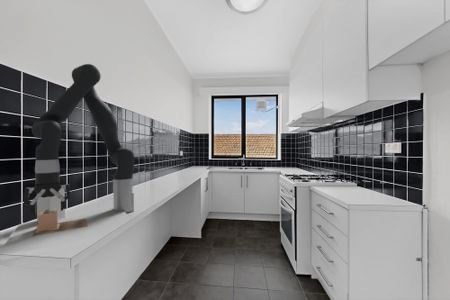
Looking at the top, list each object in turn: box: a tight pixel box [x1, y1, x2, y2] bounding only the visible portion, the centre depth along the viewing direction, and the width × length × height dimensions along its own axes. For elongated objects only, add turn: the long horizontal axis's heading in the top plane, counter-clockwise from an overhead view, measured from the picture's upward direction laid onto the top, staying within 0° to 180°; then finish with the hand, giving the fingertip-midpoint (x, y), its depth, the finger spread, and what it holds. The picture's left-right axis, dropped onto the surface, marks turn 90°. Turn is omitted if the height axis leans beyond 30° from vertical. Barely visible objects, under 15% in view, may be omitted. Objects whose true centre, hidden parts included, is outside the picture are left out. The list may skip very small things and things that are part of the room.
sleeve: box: [37, 210, 59, 231], centre depth 88 cm, size 6×6×6 cm
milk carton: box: [36, 188, 66, 222], centre depth 100 cm, size 7×7×19 cm
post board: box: [32, 209, 88, 237], centre depth 90 cm, size 17×13×9 cm
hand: (48, 212), depth 88 cm, fingers open, 8 cm apart
